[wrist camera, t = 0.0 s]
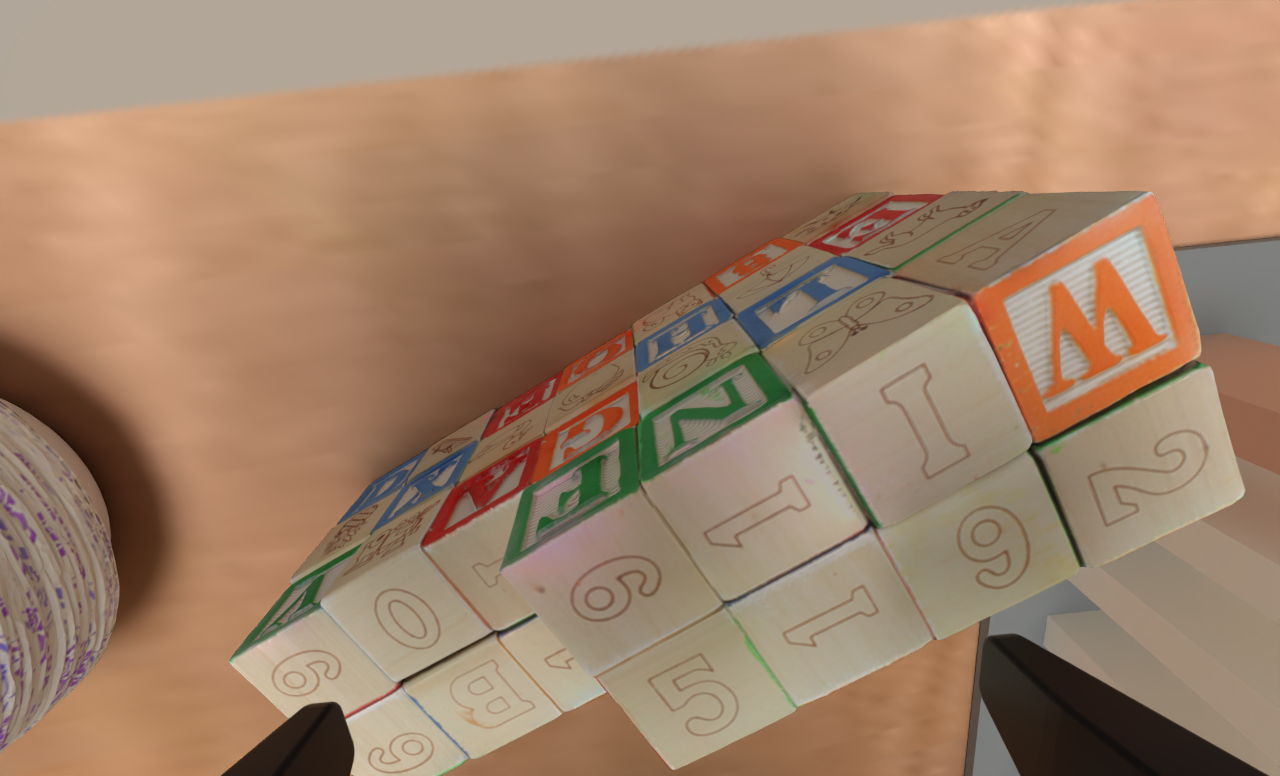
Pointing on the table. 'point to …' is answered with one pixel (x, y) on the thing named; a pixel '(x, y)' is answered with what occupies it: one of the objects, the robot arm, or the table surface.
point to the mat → (1222, 303)
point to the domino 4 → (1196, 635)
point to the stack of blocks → (771, 485)
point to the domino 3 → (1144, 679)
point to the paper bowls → (48, 572)
